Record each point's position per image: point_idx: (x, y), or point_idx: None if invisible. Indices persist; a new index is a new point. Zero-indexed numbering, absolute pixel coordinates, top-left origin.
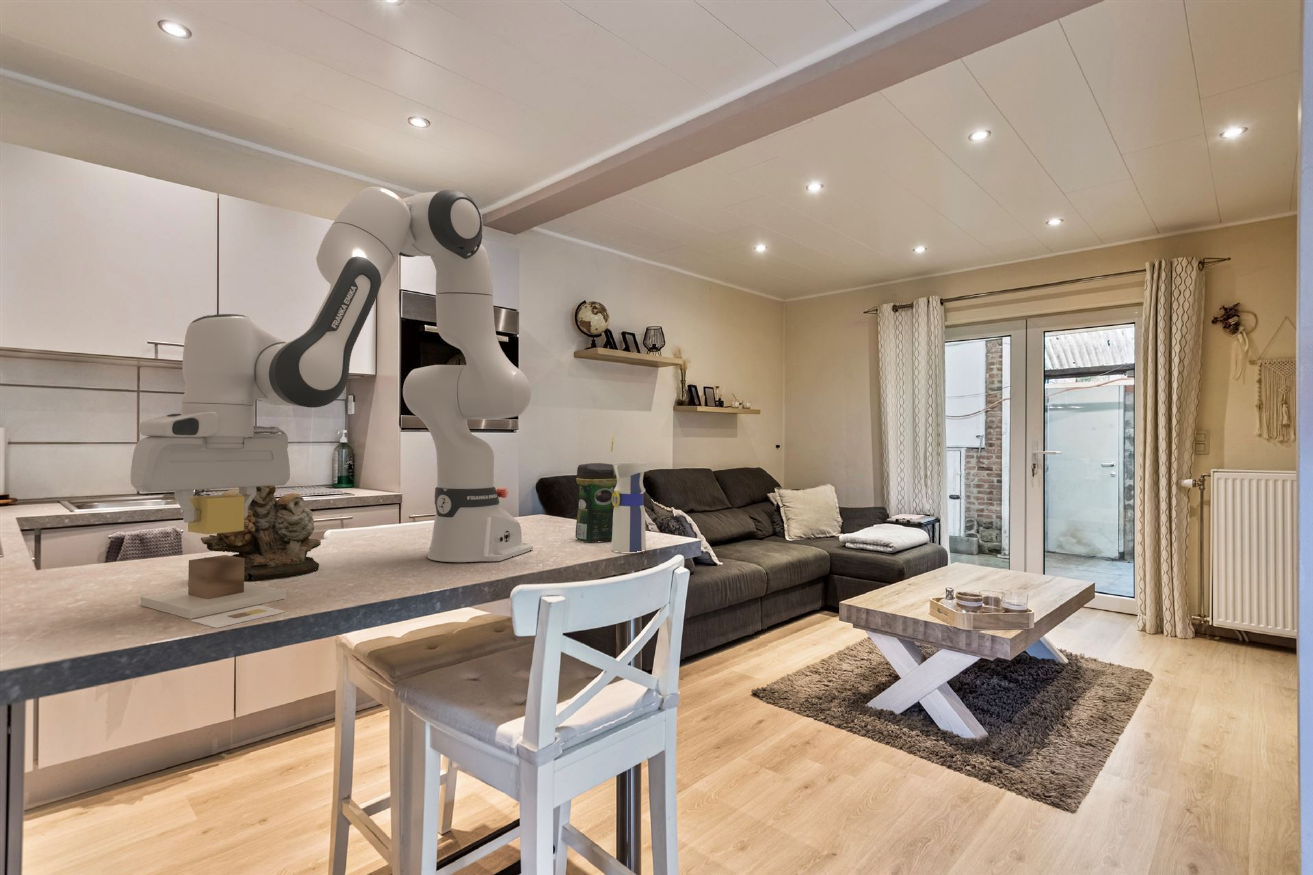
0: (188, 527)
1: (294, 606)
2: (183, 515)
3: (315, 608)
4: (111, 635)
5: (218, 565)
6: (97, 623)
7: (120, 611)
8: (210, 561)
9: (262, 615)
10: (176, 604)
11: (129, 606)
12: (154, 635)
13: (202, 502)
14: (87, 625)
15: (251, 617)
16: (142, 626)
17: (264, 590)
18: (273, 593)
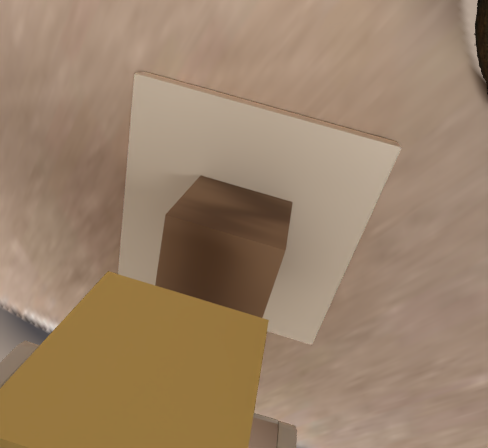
0: (97, 285)
1: (262, 374)
2: (3, 360)
3: (262, 406)
4: (8, 233)
5: None
6: (21, 136)
7: (90, 81)
8: (179, 289)
9: None
10: (129, 227)
11: (126, 51)
12: (46, 292)
13: None
14: (5, 131)
15: None
16: (59, 235)
17: (297, 306)
18: (282, 335)
